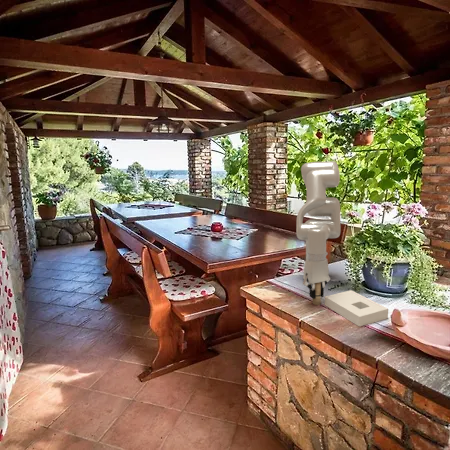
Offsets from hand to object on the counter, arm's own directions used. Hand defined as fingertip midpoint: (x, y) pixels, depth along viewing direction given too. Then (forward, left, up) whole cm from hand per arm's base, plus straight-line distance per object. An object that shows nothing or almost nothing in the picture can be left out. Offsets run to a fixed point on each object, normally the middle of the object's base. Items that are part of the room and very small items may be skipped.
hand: (316, 296), depth 140 cm
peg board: (+13, +9, -3) cm, 16 cm away
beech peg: (0, 0, -3) cm, 3 cm away
